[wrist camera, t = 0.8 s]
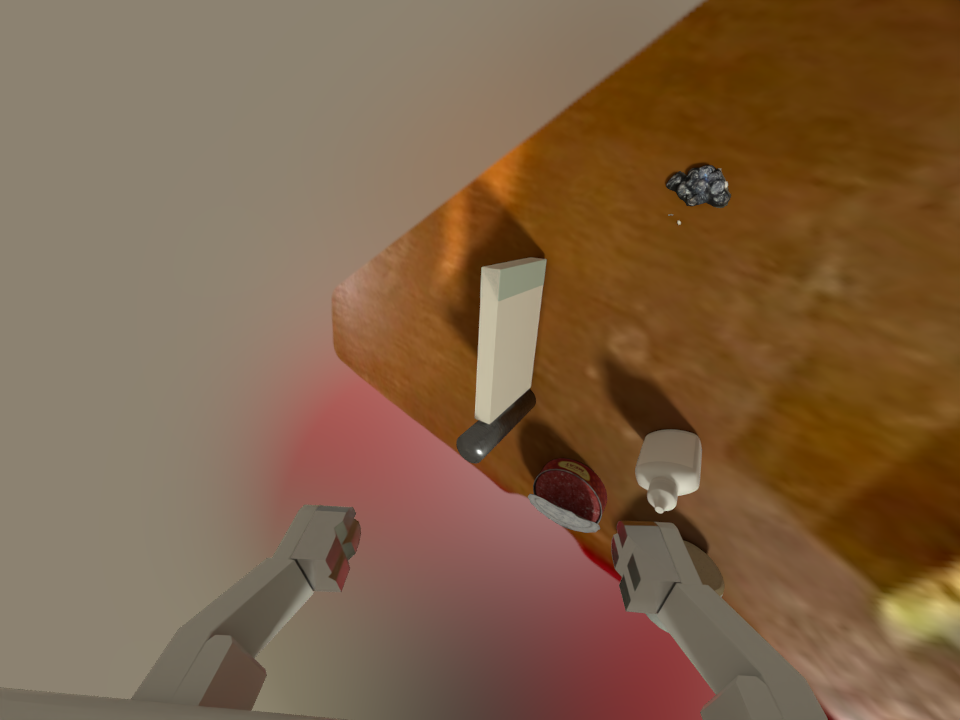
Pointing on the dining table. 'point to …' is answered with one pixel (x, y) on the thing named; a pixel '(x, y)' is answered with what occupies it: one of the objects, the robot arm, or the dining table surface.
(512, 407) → the hinge post
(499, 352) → the cream flat block
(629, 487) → the dining table surface
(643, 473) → the eye dropper bottle
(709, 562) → the ceramic mug
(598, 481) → the canned food
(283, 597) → the robot arm
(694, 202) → the blueberries
